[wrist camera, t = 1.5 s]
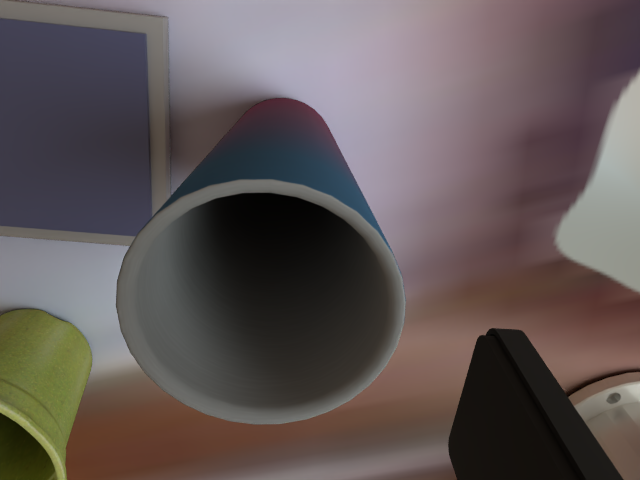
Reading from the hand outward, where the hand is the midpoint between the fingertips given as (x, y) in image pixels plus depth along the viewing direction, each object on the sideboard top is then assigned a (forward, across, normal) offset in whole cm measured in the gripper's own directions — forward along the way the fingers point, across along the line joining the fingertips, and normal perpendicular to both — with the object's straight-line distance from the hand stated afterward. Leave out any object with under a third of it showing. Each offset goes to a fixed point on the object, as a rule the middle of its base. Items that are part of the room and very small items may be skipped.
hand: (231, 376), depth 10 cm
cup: (+18, -1, +1) cm, 18 cm away
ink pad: (+18, +10, +1) cm, 21 cm away
